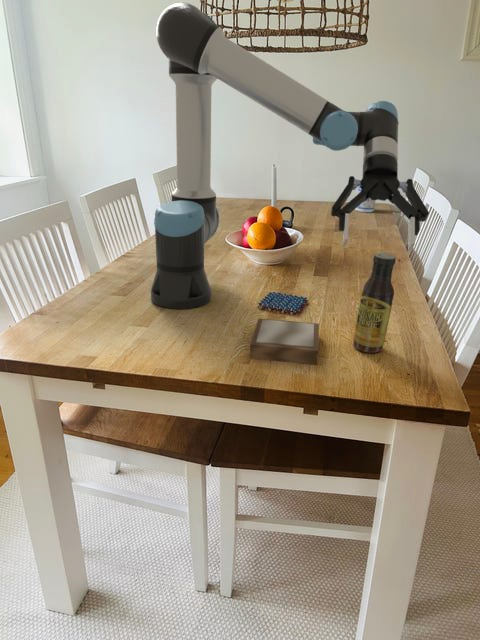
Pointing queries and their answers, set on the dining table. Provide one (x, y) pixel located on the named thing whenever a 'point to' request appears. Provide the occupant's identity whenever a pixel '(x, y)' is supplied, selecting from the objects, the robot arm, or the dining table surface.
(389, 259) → the sauce bottle
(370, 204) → the supplement tub
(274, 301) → the woven mat
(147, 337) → the dining table surface
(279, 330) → the walnut plinth
